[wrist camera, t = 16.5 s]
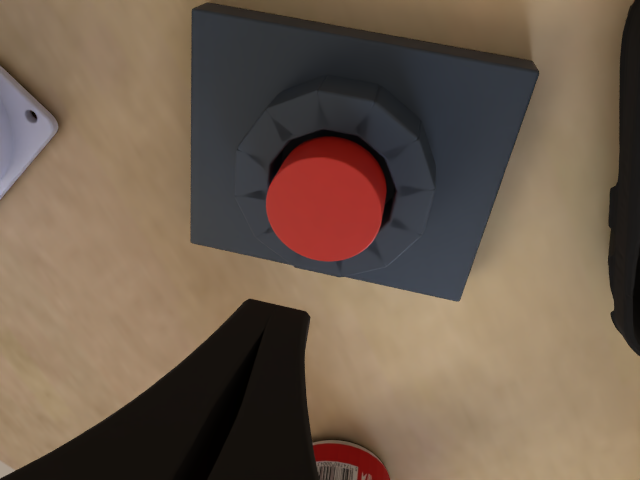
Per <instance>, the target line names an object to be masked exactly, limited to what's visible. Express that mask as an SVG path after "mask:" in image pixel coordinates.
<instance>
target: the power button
mask: <svg viewBox="0 0 640 480" xmlns="http://www.w3.org/2000/svg"><path fill="white" fill-rule="evenodd" d="M386 193H387V186H386V179H385V176H384V173H383V170H382V168H381V166H380V165H379V163H378V161H377V160H376V159H375V158H374V156H373V155H372V154H371V153H370V152H369V151H368V150H366V149H365V148H364V147H362V146H361V145H359V144H357V143H355V142H353V141H351V140H348V139H344V138H341V137H334V136H324V137H317V138H313V139H310V140H308V141H305V142H303V143H302V144H300V145H298V146H297V147H296V148H294V149H293V150H292V151H291V152H290V153H289V155H288V156H287V158H286V159H285V160H284V162H283V164H282V165H281V167H280V169H279V170H278V172H277V174H276V175H275V177H274V178H273V180H272V182H271V184H270V186H269V189H268V192H267V197H266V211H267V216H268V220H269V222H270V225H271V227H272V229H273V230H274V232H275V234H276V235H277V236H278V238H279V239H280V240H281V241H282V242H283V243H284V244H285V245H286V246H287V247H289V248H290V249H292V250H293V251H294V252H296V253H298V254H300V255H302V256H305V257H307V258H310V259H314V260H319V261H340V260H345V259H348V258H351V257H353V256H355V255H357V254H359V253H360V252H362V251H363V250H365V249H366V248H367V247H368V246H369V245H370V244H371V243H372V242H373V240H374V239H375V237H376V236H377V234H378V232H379V229H380V226H381V222H382V216H383V211H384V206H385V200H386Z"/></svg>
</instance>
